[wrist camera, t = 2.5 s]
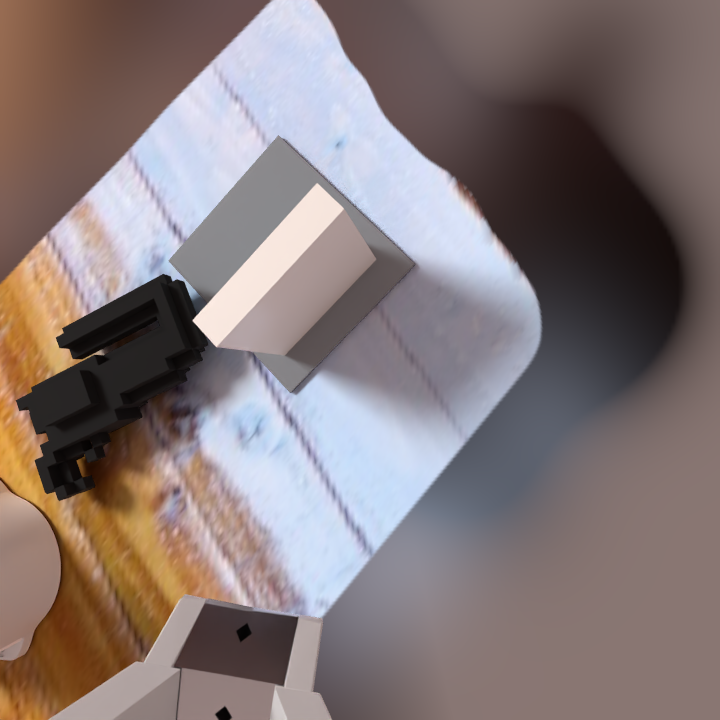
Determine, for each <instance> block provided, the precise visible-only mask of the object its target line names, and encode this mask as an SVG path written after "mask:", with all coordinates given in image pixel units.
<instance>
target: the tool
mask: <svg viewBox="0 0 720 720" xmlns="http://www.w3.org/2000/svg"><path fill="white" fill-rule="evenodd" d="M196 316H197V314H196V311H195V308H194V306H193V303H192V301H191V298H190V296H189V293H188V291H187V288H186V285H185V283H184V282H183V281H180V280H178V279H177V280H175V281H172V279H171V277H170V276H168V275H165V274H162V275H160V276H159V277H157V278H155V279H153V280H151V281H149V282H147V283H146V284H144V285H142V286H140V287H138V288H136V289H134V290H133V291H131V292H129V293H127V294H125V295H123V296H121V297H120V298H118V299H116V300H114V301H112V302H110V303H108V304H107V305H105V306H103V307H101V308H99V309H97V310H95V311H94V312H92V313H90V314H88V315H86V316H84V317H82V318H81V319H79V320H77V321H75V322H73V323H71V324H69V325H68V326H66V327H64V328H62V329H63V332H64V333H63V334H62V335H60V336H58V337H56V339H57V342H58V345H59V348H66V349H70V352H71V355H72V358H73V359H84V358H86V357H88V356H90V355H92V354H94V353H96V352H97V351H99V350H101V349H103V348H105V347H107V346H109V345H111V344H113V343H115V342H117V341H119V340H121V339H123V338H125V337H126V336H128V335H130V334H132V333H134V332H136V331H138V330H140V329H142V328H144V327H146V326H148V325H150V324H152V323H154V322H155V321H157V320H158V322H159V325H160V327H158V328H156V329H154V330H152V331H150V332H148V333H146V334H144V335H142V336H140V337H138V338H137V339H135V340H133V341H131V342H129V343H127V344H125V345H123V346H121V347H119V348H117V349H115V350H113V351H111V352H109V353H107V354H105V355H93V356H91V357H89V358H87V359H86V360H84V361H82V362H80V363H78V364H76V365H74V366H72V367H70V368H68V369H66V370H64V371H62V372H60V373H58V374H56V375H55V376H53V377H51V378H49V379H47V380H45V381H43V382H41V383H39V384H37V385H35V386H33V387H31V389H32V392H31V393H29V394H28V395H26V396H24V397H22V398H20V399H18V400H16V402H17V405H18V408H19V411H21V410H29V411H30V413H29V414H30V417H31V420H32V423H33V426H34V429H35V432H36V434H43V433H46V434H47V437H48V440H49V441H48V442H46V443H44V444H41V445H40V447H41V450H42V453H43V457H41V458H38V459H36V460H35V463H36V466H37V469H38V472H39V475H40V478H41V481H42V484H43V487H44V490H45V493H47V494H49V493H52V492H56V495H57V498H58V500H59V501H60V500H63V499H67V498H69V497H72V496H74V495H76V494H79V493H82V492H85V491H88V490H90V489H92V488H94V487H95V484H94V481H93V478H92V475H91V476H87V477H84V478H82V476H81V473H80V470H79V467H78V464H77V461H76V460H78V459H80V458H82V457H85V456H86V459H87V462H88V463H89V462H93V461H97V460H99V459H101V458H104V457H106V456H105V453H104V450H103V447H102V446H103V445H105V444H107V443H109V442H111V440H110V437H109V434H108V433H110V432H112V431H115V430H117V429H119V428H121V427H123V426H125V425H127V424H129V423H131V422H133V421H136V420H138V419H140V418H142V414H141V411H140V409H139V407H140V406H142V405H144V404H146V403H148V402H147V400H148V399H150V398H152V397H154V396H156V395H158V394H160V393H162V392H165V391H167V390H169V389H171V388H173V387H175V386H177V385H179V384H181V383H183V382H185V381H187V378H186V375H185V372H187V371H189V370H190V368H189V367H190V366H192V365H194V364H196V363H198V362H200V361H202V360H203V359H202V357H201V354H200V353H201V352H203V351H205V348H204V347H205V346H207V345H209V344H208V342H207V339H206V337H205V334H204V333H203V332H202V331H201V330H200V328H199V327H198V326H197V325H196V324H195V323H194V322H193V321H192V320H193V319H194V318H195V317H196ZM91 443H92V445H91ZM92 446H93V448H92ZM84 454H85V456H84Z"/></svg>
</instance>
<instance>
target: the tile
mask: <svg viewBox="0 0 720 720" xmlns="http://www.w3.org/2000/svg"><path fill="white" fill-rule="evenodd" d="M375 260H376V258H375V256H374V255H373V253H372V251H371V250H370V248H369V247H368V245H367V244H366V242H365V240H364V239H363V237H362V236H361V234H360V233H359V231H358V230H357V228H356V226H355V225H354V223H353V222H352V220H351V219H350V217H349V215H348V214H347V212H346V211H345V209H344V208H343V207H342V206H341V205H340V204H339V203H338V202H337V201H336V200H334V199H333V198H332V197H331V196H330V195H329V194H328V193H327V192H326V191H325V190H324V189H323V188H322V187H321V186H320V185H319V184H318V183H317V184H316V185H315V186H314V187H313V188H312V189H311V190H310V191H309V192H308V193H307V195H306V196H305V197H304V198H303V199H302V200H301V201H300V202H299V203H298V205H297V206H296V207H295V208H294V209H293V210H292V211H291V212H290V213H289V214H288V216H287V217H286V218H285V219H284V220H283V221H282V222H281V223H280V224H279V225H278V227H277V228H276V229H275V230H274V231H273V232H272V233H271V234H270V235H269V237H268V238H267V239H266V240H265V241H264V242H263V243H262V244H261V245H260V246H259V248H258V249H257V250H256V251H255V252H254V253H253V254H252V255H251V256H250V257H249V259H248V260H247V261H246V262H245V263H244V264H243V265H242V266H241V267H240V268H239V270H238V271H237V272H236V273H235V274H234V275H233V276H232V277H231V278H230V280H229V281H228V282H227V283H226V284H225V285H224V286H223V287H222V288H221V289H220V291H219V292H218V293H217V294H216V295H215V296H214V297H213V298H212V299H211V300H210V302H209V303H208V304H207V305H206V306H205V307H204V308H203V309H202V310H201V312H200V313H199V314H198V315H197V316H196V317H195V318H194V319H193V320H192V321H193V322H194V323H195V324H196V325H197V326H198V327H199V328H200V330H201V331H202V332H203V333H204V334H205V335H206V336H207V337H208V338H209V339H210V341H211V342H212V343H213V344H214V345H215V346H216V347H220V348H228V349H236V350H244V351H252V352H260V353H268V354H276V355H284V356H285V355H286V354H287V353H288V352H289V351H290V350H291V348H292V347H293V346H294V345H295V344H296V343H297V342H298V341H299V340H300V339H301V338H302V337H303V336H304V335H305V334H306V333H307V332H308V331H309V330H310V329H311V327H312V326H313V325H314V324H315V323H316V322H317V321H318V320H319V319H320V318H321V317H322V316H323V315H324V314H325V313H326V312H327V311H328V310H329V309H330V308H331V307H332V305H333V304H334V303H335V302H336V301H337V300H338V299H339V298H340V297H341V296H342V295H343V294H344V293H345V292H346V291H347V290H348V289H349V288H350V287H351V286H352V284H353V283H354V282H355V281H356V280H357V279H358V278H359V277H360V276H361V275H362V274H363V273H364V272H365V271H366V270H367V269H368V268H369V267H370V266H371V265H372V264H373V262H374V261H375Z"/></svg>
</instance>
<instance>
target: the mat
mask: <svg viewBox="0 0 720 720" xmlns="http://www.w3.org/2000/svg"><path fill="white" fill-rule="evenodd" d="M317 183H318V184H319V185H320V186H321V187H322V188H323V189H324V190H325V191H326V192H327V193H328V194H329V195H330V196H331V197H332V198H333V199H334V200H336V201H337V202H338V203H339V204H340V205H341V206H342V207H343V208H344V209H345V211H346V212H347V214H348V215H349V217H350V219H351V220H352V222H353V223H354V225H355V226H356V228H357V230H358V231H359V233H360V234H361V236H362V237H363V239H364V240H365V242H366V244H367V245H368V247H369V248H370V250H371V251H372V253H373V255H374V256H375V258H376V260H375V261H374V262H373V264H372V265H371V266H370V267H369V268H368V269H367V270H366V271H365V272H364V273H363V274H362V275H361V276H360V277H359V278H358V279H357V280H356V281H355V282H354V283H353V284H352V286H351V287H350V288H349V289H348V290H347V291H346V292H345V293H344V294H343V295H342V296H341V297H340V298H339V299H338V300H337V301H336V302H335V303H334V304H333V305H332V307H331V308H330V309H329V310H328V311H327V312H326V313H325V314H324V315H323V316H322V317H321V318H320V319H319V320H318V321H317V322H316V323H315V324H314V325H313V326H312V327H311V329H310V330H309V331H308V332H307V333H306V334H305V335H304V336H303V337H302V338H301V339H300V340H299V341H298V342H297V343H296V344H295V345H294V346H293V347H292V348H291V350H290V351H289V352H288V353H287V354H286V355H285V356H284V355H276V354H268V353H260V352H253V353H254V354H255V355H256V356H257V357H258V359H259V360H260V361H261V362H262V363H263V364H264V365H265V366H266V367H267V368H268V369H269V371H270V372H271V373H272V374H273V375H274V376H275V377H276V378H277V379H278V380H279V381H280V382H281V384H282V385H283V386H284V387H285V388H286V389H287V390H288V391H289V392H290V393H291V392H292V391H293V390H294V389H295V388H296V387H297V386H298V385H299V384H300V383H301V382H302V381H303V380H304V379H305V378H306V377H307V376H308V375H309V374H310V373H311V372H312V371H313V370H314V369H315V368H316V367H317V366H318V365H319V364H320V363H321V362H322V360H323V359H324V358H325V357H326V356H327V355H328V354H329V353H330V352H331V351H332V350H333V349H334V348H335V347H336V346H337V345H338V344H339V343H340V342H341V341H342V340H343V339H344V338H345V337H346V336H347V335H348V334H349V333H350V332H351V331H352V330H353V329H354V327H355V326H356V325H357V324H358V323H359V322H360V321H361V320H362V319H363V318H364V317H365V316H366V315H367V314H368V313H369V312H370V311H371V310H372V309H373V308H374V307H375V306H376V305H377V304H378V303H379V302H380V301H381V300H382V299H383V298H384V297H385V296H386V294H387V293H388V292H389V291H390V290H391V289H392V288H393V287H394V286H395V285H396V284H397V283H398V282H399V281H400V280H401V279H402V278H403V277H404V276H405V275H406V274H407V273H408V272H409V271H410V270H411V269H412V268H413V267H414V266H415V264H414V263H413V262H412V261H411V260H410V259H409V258H408V257H407V256H406V255H405V254H404V253H403V252H402V251H401V250H400V249H399V248H397V247H396V246H395V245H394V244H393V243H392V242H391V241H390V240H389V239H388V238H387V237H386V236H385V235H384V234H383V233H382V232H380V231H379V230H378V229H377V228H376V227H375V226H374V225H373V224H372V223H371V222H370V221H369V220H368V219H367V218H366V217H365V216H363V215H362V214H361V213H360V212H359V211H358V210H357V209H356V208H355V207H354V206H353V205H352V204H351V203H350V202H349V201H348V200H347V199H345V198H344V197H343V196H342V195H341V194H340V193H339V192H338V191H337V190H336V189H335V188H334V187H333V186H332V185H331V184H330V183H328V182H327V181H326V180H325V179H324V178H323V177H322V176H321V175H320V174H319V173H318V172H317V171H316V170H315V169H314V168H313V167H312V166H310V165H309V164H308V163H307V162H306V161H305V160H304V159H303V158H302V157H301V156H300V155H299V154H298V153H297V152H296V151H295V150H293V149H292V148H291V147H290V146H289V145H288V144H287V143H286V142H285V141H284V140H283V139H282V138H281V137H280V136H279V135H278V137H277V138H276V139H275V140H274V141H273V142H272V143H271V144H270V146H269V147H268V148H267V149H266V150H265V151H264V152H263V154H262V155H261V156H260V157H259V158H258V159H257V160H256V162H255V163H254V164H253V165H252V166H251V167H250V168H249V170H248V171H247V172H246V173H245V174H244V175H243V176H242V178H241V179H240V180H239V181H238V182H237V183H236V184H235V185H234V187H233V188H232V189H231V190H230V191H229V192H228V193H227V195H226V196H225V197H224V198H223V199H222V200H221V201H220V203H219V204H218V205H217V206H216V207H215V208H214V209H213V211H212V212H211V213H210V214H209V215H208V216H207V217H206V219H205V220H204V221H203V222H202V223H201V224H200V225H199V227H198V228H197V229H196V230H195V231H194V232H193V233H192V234H191V236H190V237H189V238H188V239H187V240H186V241H185V242H184V244H183V245H182V246H181V247H180V248H179V249H178V250H177V252H176V253H175V254H174V255H173V256H172V257H171V258H170V260H169V262H170V263H171V264H172V265H173V266H174V267H175V269H176V270H177V271H178V272H179V273H180V274H181V275H182V276H183V277H184V278H185V279H186V280H187V282H188V283H189V284H190V285H191V286H192V287H193V288H194V289H195V290H196V291H197V292H198V293H199V295H200V296H201V297H202V298H203V299H204V300H205V301H206V302H207V303H209V302H210V300H211V299H212V298H213V297H214V296H215V295H216V294H217V293H218V292H219V291H220V289H221V288H222V287H223V286H224V285H225V284H226V283H227V282H228V281H229V280H230V278H231V277H232V276H233V275H234V274H235V273H236V272H237V271H238V270H239V268H240V267H241V266H242V265H243V264H244V263H245V262H246V261H247V260H248V259H249V257H250V256H251V255H252V254H253V253H254V252H255V251H256V250H257V249H258V248H259V246H260V245H261V244H262V243H263V242H264V241H265V240H266V239H267V238H268V237H269V235H270V234H271V233H272V232H273V231H274V230H275V229H276V228H277V227H278V225H279V224H280V223H281V222H282V221H283V220H284V219H285V218H286V217H287V216H288V214H289V213H290V212H291V211H292V210H293V209H294V208H295V207H296V206H297V205H298V203H299V202H300V201H301V200H302V199H303V198H304V197H305V196H306V195H307V193H308V192H309V191H310V190H311V189H312V188H313V187H314V186H315V185H316V184H317Z"/></svg>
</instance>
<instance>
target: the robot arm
mask: <svg viewBox="0 0 720 720" xmlns="http://www.w3.org/2000/svg"><path fill="white" fill-rule="evenodd" d="M60 575H61V561H60V553H59V548H58V544H57V541H56V538H55V535H54V533H53V531H52V529H51V527H50V525H49V523H48V522H47V520H46V519H45V517H44V516H43V515H42V514H41V513H40V511H39V510H38V509H37V508H35V507H34V506H33V505H32V504H30V503H29V502H28V501H26V500H24V499H22V498H20V497H18V496H16V495H14V494H13V493H11V492H10V491H9V490H8V489H7V487H6V486H5V485H4V484H3V483H2V481H1V480H0V660H9V661H11V660H15V659H17V658H19V657H21V656H23V655H24V654H25V653H26V652H27V651H28V649H29V646H30V643H31V640H32V637H33V634H34V630H35V629H36V627H37V626H38V624H39V623H40V622H41V621H42V619H43V618H44V617H45V616H46V614H47V613H48V612H49V610H50V608H51V607H52V605H53V603H54V600H55V598H56V595H57V592H58V588H59V583H60ZM298 619H299V620H298ZM322 625H323V620H322V618H317V617H311V616H304V615H300V616H299V615H297V614H291V613H285V612H279V611H273V610H267V609H261V608H255V607H254V608H253V607H248V606H243V605H238V604H233V603H228V602H223V601H218V600H213V599H205V598H201V597H196V596H191V595H186V594H185V595H184V596H183V597H182V598H181V599H180V600H179V601H178V603H177V605H176V607H175V608H174V610H173V612H172V614H171V615H170V617H169V619H168V621H167V622H166V624H165V626H164V628H163V629H162V631H161V633H160V635H159V636H158V638H157V640H156V642H155V643H154V645H153V647H152V649H151V650H150V652H149V654H148V656H147V657H146V659H145V661H144V662H137V661H136V662H134V663H133V664H131V665H130V666H128V667H127V668H125V669H124V670H122V671H121V672H119V673H118V674H116V675H115V676H113V677H112V678H110V679H109V680H107V681H106V682H104V683H103V684H101V685H100V686H98V687H97V688H95V689H94V690H92V691H91V692H89V693H88V694H86V695H85V696H83V697H82V698H80V699H79V700H77V701H76V702H74V703H73V704H71V705H70V706H68V707H67V708H65V709H64V710H62V711H61V712H59V713H58V714H56V715H55V716H53V717H52V718H50V719H49V720H332V719H331V716H330V714H329V712H328V710H327V707H326V705H325V703H324V701H323V699H322V696H321V694H320V693H315V692H313V687H314V681H315V673H316V667H317V660H318V653H319V646H320V639H321V633H322Z"/></svg>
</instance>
